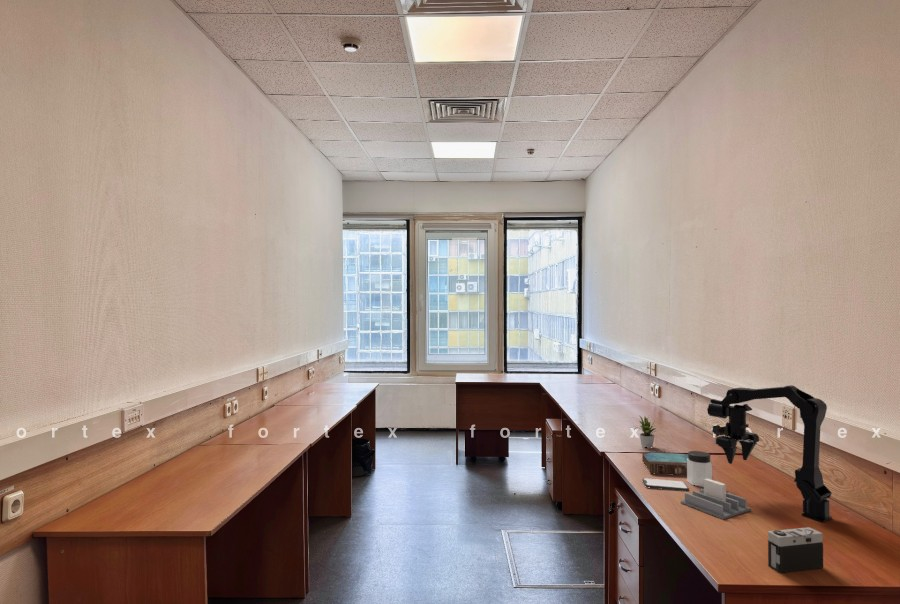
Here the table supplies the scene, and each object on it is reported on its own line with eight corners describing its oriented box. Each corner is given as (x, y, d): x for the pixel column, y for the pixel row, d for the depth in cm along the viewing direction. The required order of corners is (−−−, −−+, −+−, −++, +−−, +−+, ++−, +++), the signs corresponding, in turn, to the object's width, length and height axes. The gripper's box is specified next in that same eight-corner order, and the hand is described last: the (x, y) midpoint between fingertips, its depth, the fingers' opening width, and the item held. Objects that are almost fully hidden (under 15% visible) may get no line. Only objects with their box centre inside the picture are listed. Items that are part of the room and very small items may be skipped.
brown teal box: (650, 475, 214) (650, 463, 214) (640, 462, 231) (640, 451, 231) (707, 478, 210) (707, 466, 210) (693, 465, 228) (693, 454, 228)
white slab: (725, 507, 176) (725, 484, 176) (722, 508, 175) (722, 485, 175) (707, 500, 182) (707, 478, 182) (703, 501, 181) (703, 479, 182)
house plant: (624, 443, 261) (624, 412, 262) (646, 441, 266) (646, 410, 266) (642, 451, 248) (642, 418, 248) (665, 449, 252) (665, 416, 252)
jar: (686, 484, 201) (686, 454, 201) (687, 478, 208) (687, 449, 208) (711, 488, 197) (711, 457, 197) (712, 482, 204) (711, 452, 204)
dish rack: (750, 510, 175) (750, 499, 176) (722, 519, 168) (722, 508, 168) (708, 495, 190) (708, 485, 190) (680, 503, 182) (680, 492, 182)
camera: (798, 554, 144) (798, 519, 144) (824, 569, 136) (824, 532, 136) (756, 558, 142) (756, 523, 142) (780, 574, 133) (780, 536, 134)
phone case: (683, 485, 202) (641, 481, 206) (683, 481, 202) (641, 477, 206) (689, 493, 194) (645, 489, 197) (689, 488, 194) (645, 485, 197)
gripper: (731, 414, 204) (731, 453, 203) (702, 419, 195) (702, 459, 195) (759, 419, 194) (759, 460, 194) (730, 425, 185) (730, 467, 185)
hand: (737, 461), depth 192 cm, fingers open, 9 cm apart
